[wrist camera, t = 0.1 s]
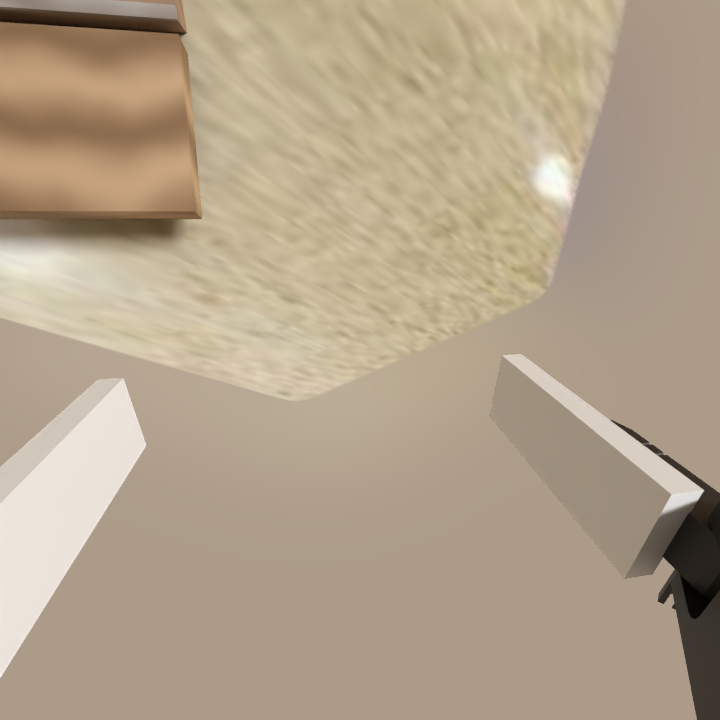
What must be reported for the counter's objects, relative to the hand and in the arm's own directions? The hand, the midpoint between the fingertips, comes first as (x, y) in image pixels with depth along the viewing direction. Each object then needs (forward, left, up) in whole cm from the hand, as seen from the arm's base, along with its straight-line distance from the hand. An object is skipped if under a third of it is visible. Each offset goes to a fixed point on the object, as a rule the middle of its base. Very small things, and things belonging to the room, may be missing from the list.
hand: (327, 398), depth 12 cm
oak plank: (-11, -18, -26) cm, 33 cm away
